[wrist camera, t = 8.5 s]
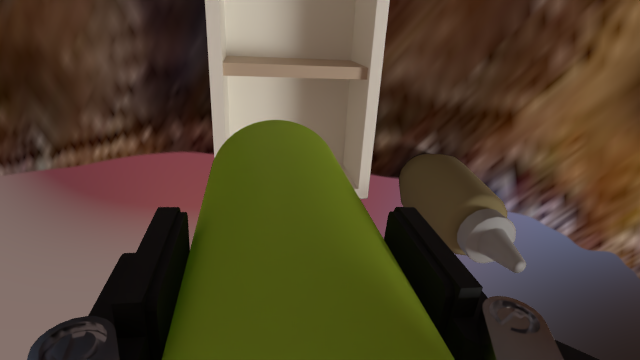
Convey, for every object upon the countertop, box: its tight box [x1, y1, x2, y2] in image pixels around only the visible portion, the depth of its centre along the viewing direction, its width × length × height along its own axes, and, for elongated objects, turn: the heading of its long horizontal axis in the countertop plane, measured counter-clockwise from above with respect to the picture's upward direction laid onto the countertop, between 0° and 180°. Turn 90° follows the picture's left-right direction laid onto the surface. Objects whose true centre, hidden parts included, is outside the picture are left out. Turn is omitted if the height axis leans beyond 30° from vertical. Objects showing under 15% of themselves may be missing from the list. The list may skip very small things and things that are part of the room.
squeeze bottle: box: [399, 154, 526, 273], centre depth 37 cm, size 8×8×18 cm
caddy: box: [205, 0, 390, 199], centre depth 34 cm, size 24×14×8 cm, turn 177°
